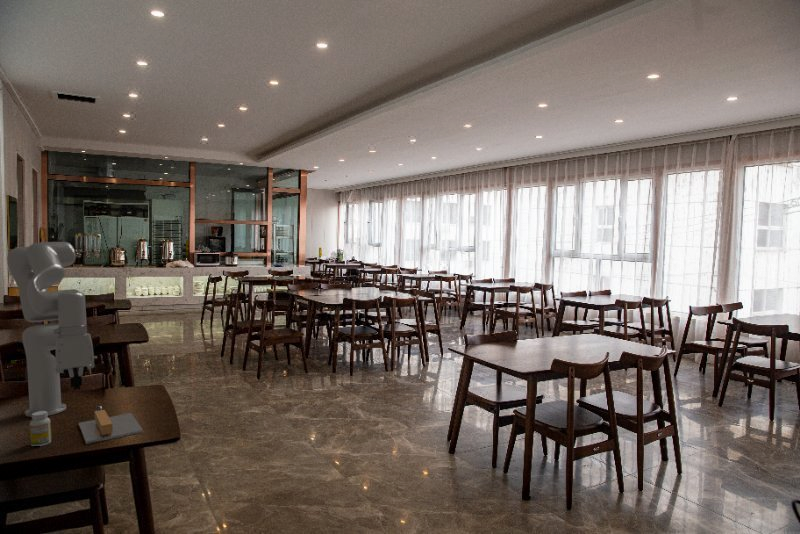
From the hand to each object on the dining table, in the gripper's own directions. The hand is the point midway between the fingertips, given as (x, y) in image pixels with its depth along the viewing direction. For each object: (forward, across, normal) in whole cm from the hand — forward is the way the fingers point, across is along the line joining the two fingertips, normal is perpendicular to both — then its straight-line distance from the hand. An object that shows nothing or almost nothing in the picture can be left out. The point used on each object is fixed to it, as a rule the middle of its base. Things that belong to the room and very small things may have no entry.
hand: (76, 388), depth 172 cm
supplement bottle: (+15, -10, 0) cm, 19 cm away
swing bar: (+14, +7, 0) cm, 15 cm away
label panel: (+15, +9, +1) cm, 18 cm away
